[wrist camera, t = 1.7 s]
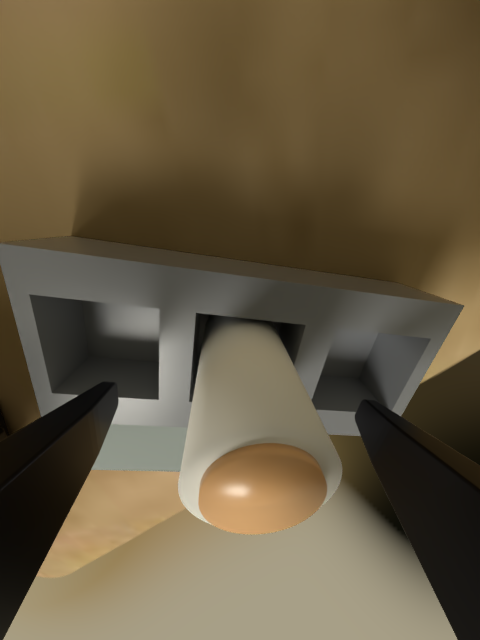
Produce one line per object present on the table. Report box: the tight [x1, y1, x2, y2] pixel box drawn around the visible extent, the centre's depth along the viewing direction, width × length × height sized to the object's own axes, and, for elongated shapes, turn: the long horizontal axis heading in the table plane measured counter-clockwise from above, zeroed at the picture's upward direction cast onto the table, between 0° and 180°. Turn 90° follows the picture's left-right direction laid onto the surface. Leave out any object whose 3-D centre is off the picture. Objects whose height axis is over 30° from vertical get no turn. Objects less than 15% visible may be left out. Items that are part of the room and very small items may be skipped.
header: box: [0, 236, 464, 436], centre depth 12 cm, size 18×8×4 cm, turn 82°
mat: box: [91, 424, 188, 472], centre depth 16 cm, size 10×8×1 cm
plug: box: [178, 315, 342, 535], centre depth 9 cm, size 4×4×8 cm
